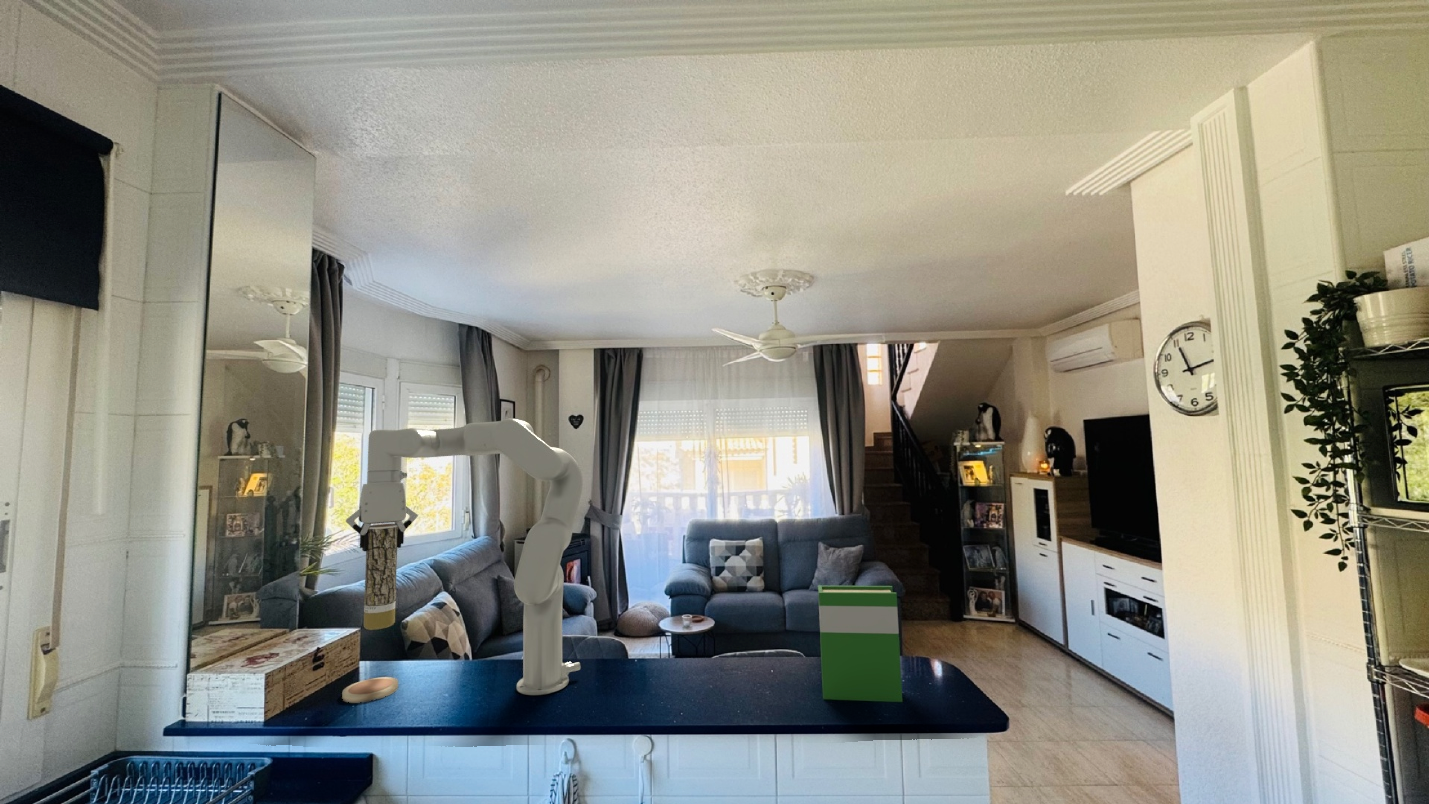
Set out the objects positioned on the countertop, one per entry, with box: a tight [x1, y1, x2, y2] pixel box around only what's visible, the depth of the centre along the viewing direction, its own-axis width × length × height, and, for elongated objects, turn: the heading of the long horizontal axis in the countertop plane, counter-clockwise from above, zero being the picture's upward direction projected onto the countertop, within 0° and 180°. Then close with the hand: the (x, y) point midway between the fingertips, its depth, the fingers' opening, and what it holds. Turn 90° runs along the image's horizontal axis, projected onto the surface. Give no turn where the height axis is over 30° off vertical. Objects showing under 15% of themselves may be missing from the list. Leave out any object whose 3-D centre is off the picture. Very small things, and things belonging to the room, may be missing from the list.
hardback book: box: [817, 585, 903, 703], centre depth 137 cm, size 18×7×24 cm, turn 81°
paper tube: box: [363, 523, 398, 631], centre depth 146 cm, size 7×7×25 cm
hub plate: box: [341, 676, 399, 704], centre depth 145 cm, size 12×12×2 cm
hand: (381, 548), depth 146 cm, fingers closed on paper tube, 6 cm apart
